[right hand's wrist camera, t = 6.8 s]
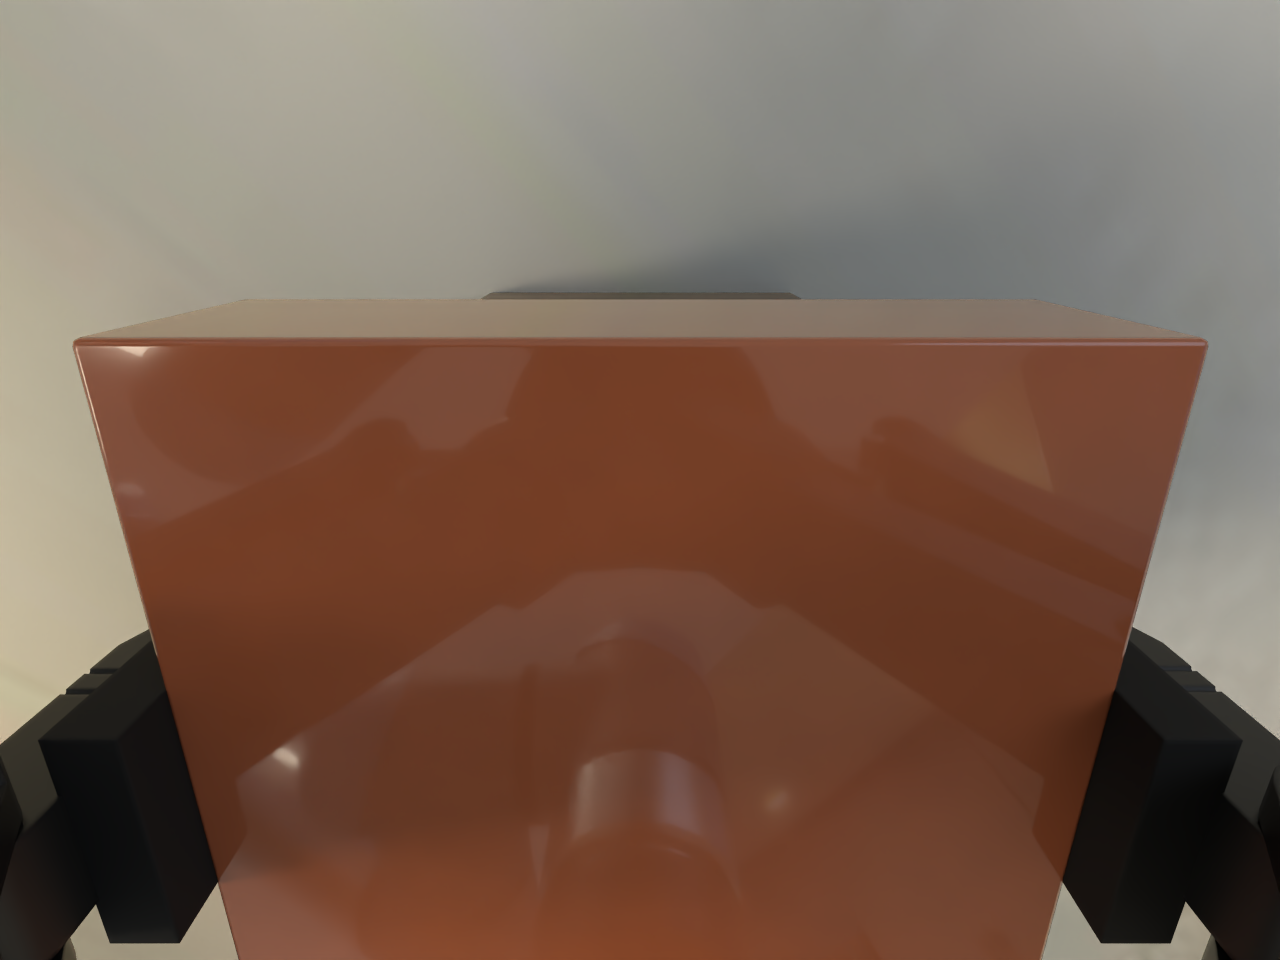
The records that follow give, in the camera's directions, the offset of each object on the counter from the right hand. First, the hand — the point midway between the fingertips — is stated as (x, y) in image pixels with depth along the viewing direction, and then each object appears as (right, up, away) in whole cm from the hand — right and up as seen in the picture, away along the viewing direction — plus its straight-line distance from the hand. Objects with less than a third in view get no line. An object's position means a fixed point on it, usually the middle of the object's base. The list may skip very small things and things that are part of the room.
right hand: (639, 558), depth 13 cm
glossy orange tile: (0, 0, -2) cm, 2 cm away
